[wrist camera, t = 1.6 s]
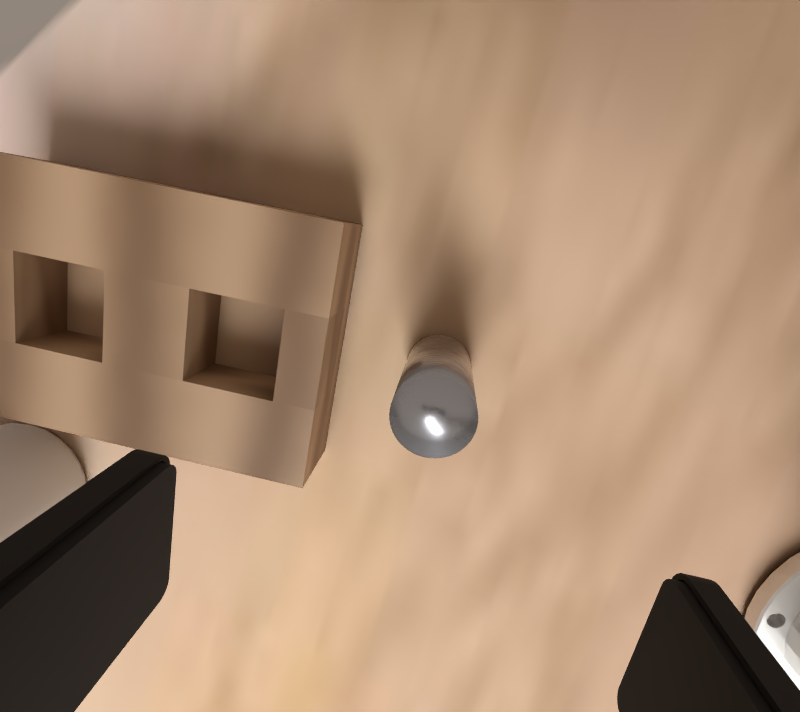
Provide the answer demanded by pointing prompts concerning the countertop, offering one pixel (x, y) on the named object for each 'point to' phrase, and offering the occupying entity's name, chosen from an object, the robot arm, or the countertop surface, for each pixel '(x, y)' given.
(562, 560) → the countertop surface
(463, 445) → the dowel
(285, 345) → the bore block
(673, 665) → the robot arm
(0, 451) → the cup
